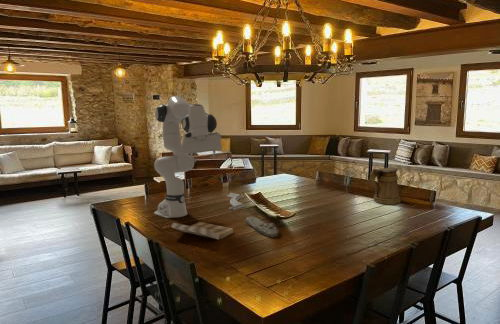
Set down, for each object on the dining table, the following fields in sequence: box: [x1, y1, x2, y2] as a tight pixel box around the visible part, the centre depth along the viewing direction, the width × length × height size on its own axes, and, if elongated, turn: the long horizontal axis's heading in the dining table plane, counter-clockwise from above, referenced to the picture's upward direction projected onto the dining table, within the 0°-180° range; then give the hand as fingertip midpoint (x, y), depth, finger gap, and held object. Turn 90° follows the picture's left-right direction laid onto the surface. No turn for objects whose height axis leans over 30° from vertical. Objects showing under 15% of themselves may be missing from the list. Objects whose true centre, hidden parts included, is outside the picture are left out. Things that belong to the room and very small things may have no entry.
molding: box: [227, 192, 247, 211], centre depth 284 cm, size 42×12×3 cm, turn 5°
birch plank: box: [171, 222, 220, 241], centre depth 208 cm, size 24×12×2 cm, turn 58°
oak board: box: [190, 221, 234, 240], centre depth 219 cm, size 24×12×3 cm, turn 58°
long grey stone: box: [245, 216, 279, 238], centre depth 225 cm, size 35×5×10 cm
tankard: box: [369, 167, 402, 206], centre depth 279 cm, size 18×24×25 cm
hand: (203, 160), depth 197 cm, fingers open, 8 cm apart
